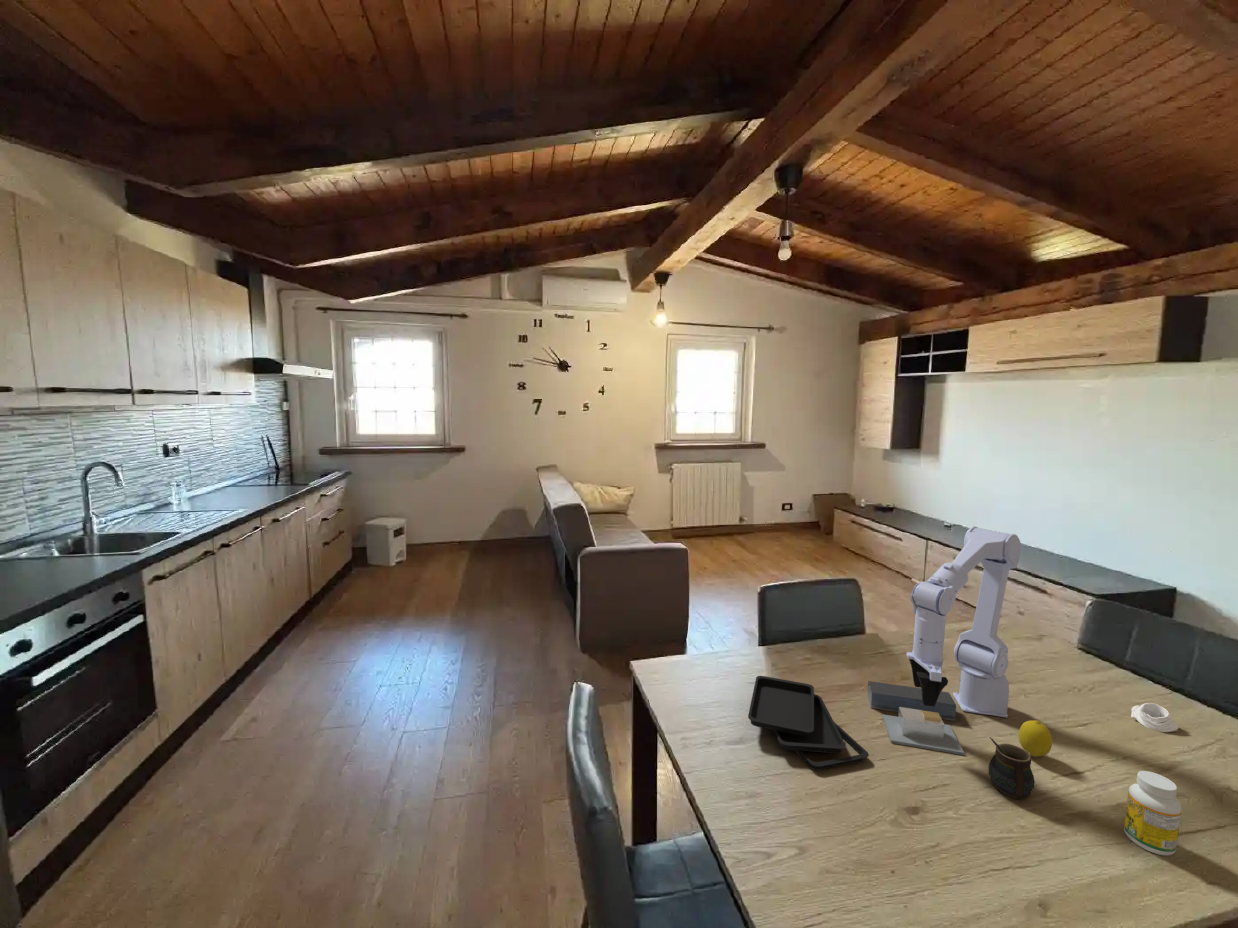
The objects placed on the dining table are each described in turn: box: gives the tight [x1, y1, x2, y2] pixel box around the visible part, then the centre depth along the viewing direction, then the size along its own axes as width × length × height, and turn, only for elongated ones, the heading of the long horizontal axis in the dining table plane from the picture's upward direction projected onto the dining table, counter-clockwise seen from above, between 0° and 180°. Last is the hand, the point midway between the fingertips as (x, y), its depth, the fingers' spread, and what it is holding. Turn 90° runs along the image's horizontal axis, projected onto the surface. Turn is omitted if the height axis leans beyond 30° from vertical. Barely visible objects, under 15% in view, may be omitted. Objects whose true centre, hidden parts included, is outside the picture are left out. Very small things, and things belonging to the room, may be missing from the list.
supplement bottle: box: [1123, 770, 1182, 856], centre depth 90 cm, size 6×6×11 cm
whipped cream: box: [1130, 702, 1180, 733], centre depth 124 cm, size 8×7×5 cm
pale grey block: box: [897, 707, 945, 742], centre depth 119 cm, size 8×5×5 cm, turn 74°
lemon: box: [1018, 719, 1053, 758], centre depth 112 cm, size 6×6×8 cm
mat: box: [882, 714, 965, 756], centre depth 119 cm, size 14×10×1 cm
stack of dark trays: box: [747, 675, 870, 771], centre depth 121 cm, size 30×23×5 cm
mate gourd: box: [988, 736, 1036, 800], centre depth 102 cm, size 7×8×10 cm
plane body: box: [866, 680, 957, 722], centre depth 130 cm, size 18×6×4 cm, turn 73°
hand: (924, 695), depth 118 cm, fingers open, 7 cm apart
